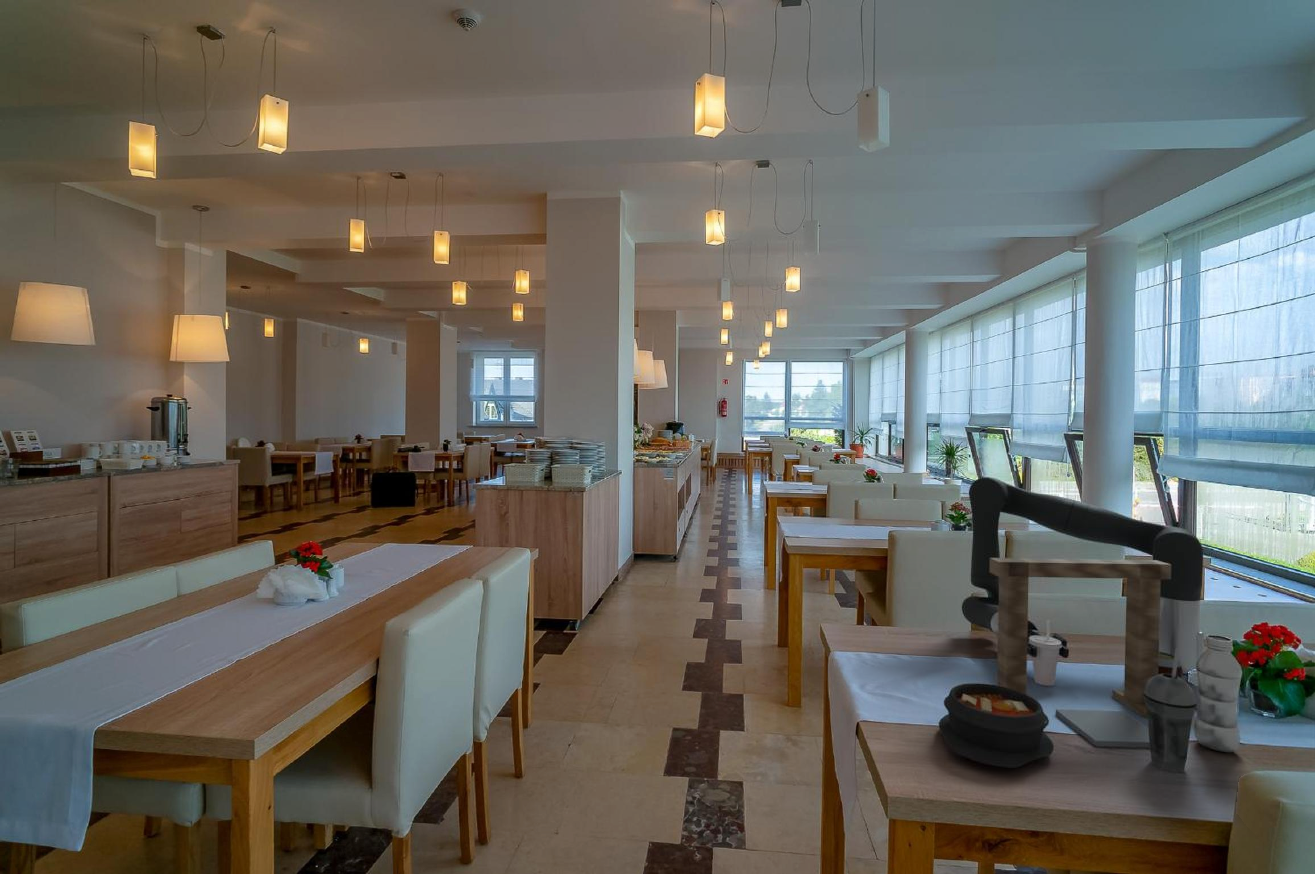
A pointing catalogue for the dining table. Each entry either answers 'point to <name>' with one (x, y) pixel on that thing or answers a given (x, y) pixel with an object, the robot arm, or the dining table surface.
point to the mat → (1107, 727)
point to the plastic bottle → (1218, 695)
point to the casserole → (995, 725)
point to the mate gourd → (1168, 664)
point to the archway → (1137, 572)
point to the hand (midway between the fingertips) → (1050, 653)
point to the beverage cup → (1169, 719)
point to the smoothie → (1045, 657)
